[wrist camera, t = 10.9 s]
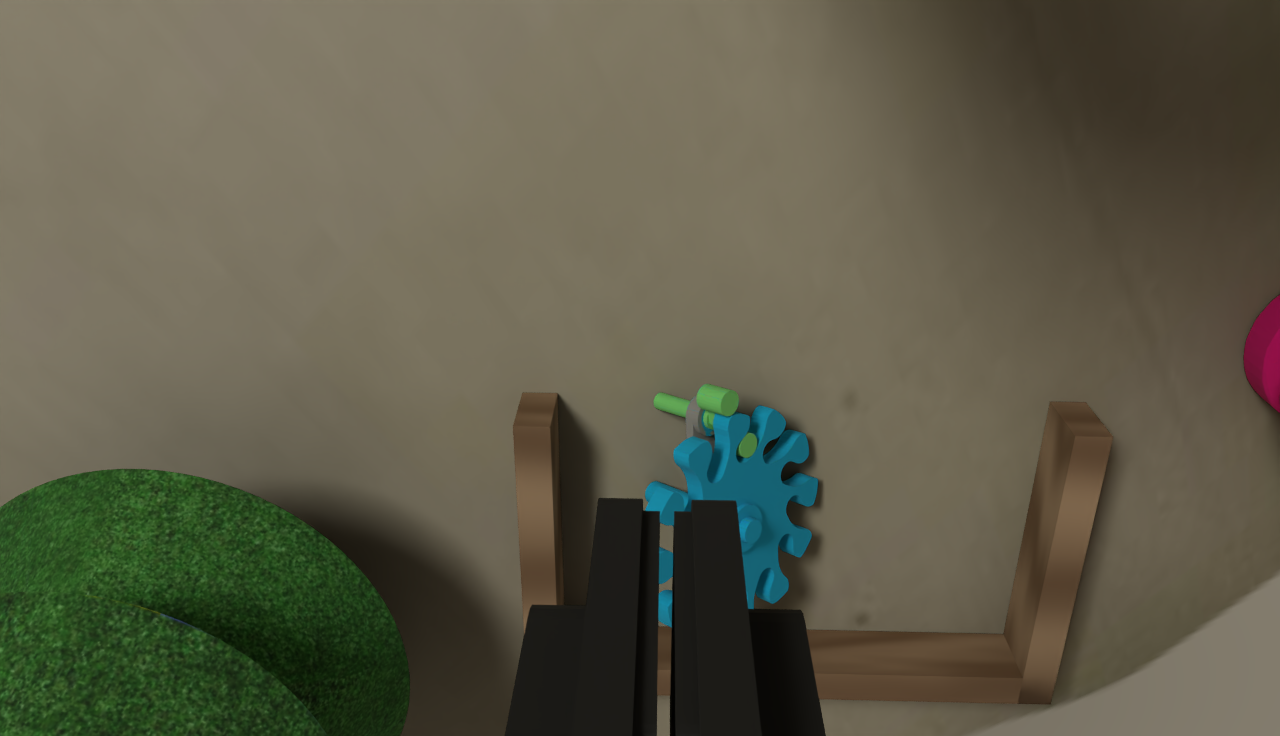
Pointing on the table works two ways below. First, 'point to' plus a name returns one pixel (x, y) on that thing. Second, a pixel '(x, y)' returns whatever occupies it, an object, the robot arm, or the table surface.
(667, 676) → the frame
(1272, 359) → the pepper mill
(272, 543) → the decorative tree
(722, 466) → the gear
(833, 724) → the table surface
